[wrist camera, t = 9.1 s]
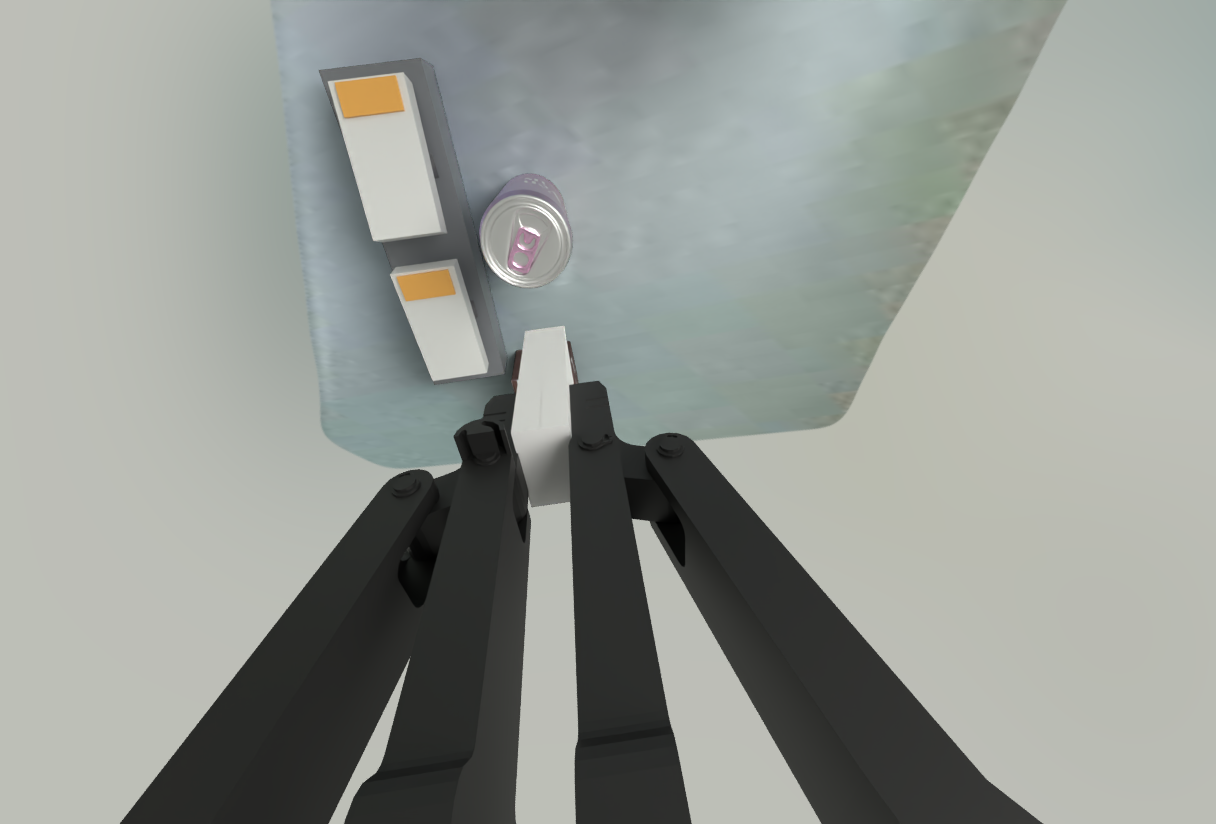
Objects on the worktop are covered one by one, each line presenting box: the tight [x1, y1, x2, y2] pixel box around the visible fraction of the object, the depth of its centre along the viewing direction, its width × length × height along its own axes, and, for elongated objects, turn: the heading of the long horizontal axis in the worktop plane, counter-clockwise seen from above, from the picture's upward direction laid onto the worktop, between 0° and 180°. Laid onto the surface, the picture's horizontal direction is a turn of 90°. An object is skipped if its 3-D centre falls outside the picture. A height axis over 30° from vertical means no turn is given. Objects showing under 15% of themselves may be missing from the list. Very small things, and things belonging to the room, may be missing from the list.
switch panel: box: [319, 58, 508, 385], centre depth 39 cm, size 25×7×5 cm, turn 6°
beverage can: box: [479, 174, 573, 288], centre depth 34 cm, size 6×6×15 cm
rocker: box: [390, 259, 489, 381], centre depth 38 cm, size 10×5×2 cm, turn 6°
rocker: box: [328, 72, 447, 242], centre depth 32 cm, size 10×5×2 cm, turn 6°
